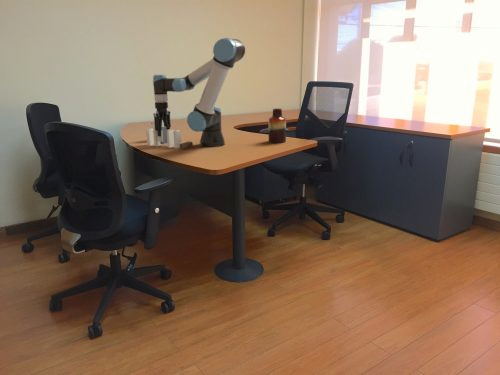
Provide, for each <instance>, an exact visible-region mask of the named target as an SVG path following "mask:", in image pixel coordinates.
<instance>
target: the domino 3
mask: <svg viewBox="0 0 500 375" xmlns="http://www.w3.org/2000/svg"><path fill="white" fill-rule="evenodd" d="M159 129H160V128H159ZM161 131H163V142H160V144H161V145H165V144H167V132H166V131H167V127H165V126H164V127H162V129H161Z"/></svg>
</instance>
